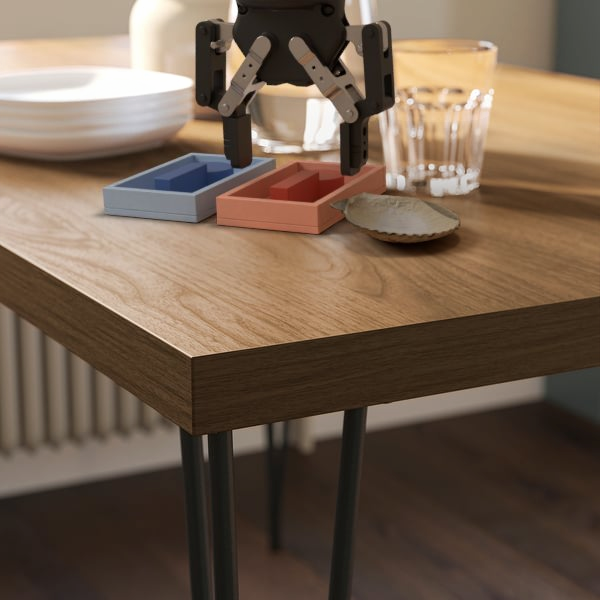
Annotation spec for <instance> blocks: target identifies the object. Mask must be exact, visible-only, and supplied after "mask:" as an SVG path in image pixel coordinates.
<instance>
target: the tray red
mask: <svg viewBox="0 0 600 600" xmlns="http://www.w3.org/2000/svg"><path fill="white" fill-rule="evenodd" d="M317 169H326V170H335V171H340V162H334V161H323V160H322V161H320V160H304V159H293V160H291V161H288V162H287V163H283V164H282V165H280V166H278V167H276V169H274V170H272V171H270V172H268V173H265V174H263V175H261V176H259V177H257V178H255V179H253V180H251V181H249V182H247V183H245V184H242V185H240V186H238V187H236V188H234V189H232V190H230V191H228V192H226V193H224V194H222V195H220V196H218V197H216V205H217V213H216V224H217V225H218V226H227V227H237V228H248V229H259V230H268V231H269V230H270V231H279V232H291V233H301V234H311V235H312V234H314V235H319V234H321V233H322V232H324V231H326V230H327V229H329V228H330V227H332V226H333V225H335V224H337V223H338V222H340V221H341V220H343V219H344V218H346V217H345V215H344V214H343V213H342V212H341V210H337V209H333V208H332V207H330V203H333V202H336V201H338V200H341V199H345V198H348V199H349V197H351V196H353V195H355V194H358V193H362V192H365V193H367V194H376V195H383V194H384V193H385V192H386V191H387V166H386V165H379V164H367V163H366V164H365V165H364V166H362V167H361V169H360V172H359V173H357V174H355V175H354V176H344V178H345V185H344V186H342V187H341V188H339V189H337V190H335V191H334V192H332V193H330V194H328V195H327V196H325V197H323V198H321V199H317V200H315V201H314V202H312V203H308V202H295V201H283V200H271V199H270V187H271V186H273V185H275V184H277V183H279V182H281V181H283V180H285V179H287V178H288V177H290V176H292V175H294V174H296V173H298V172H300V171H302V170H303V171H306V170H317ZM340 172H341V171H340Z"/></svg>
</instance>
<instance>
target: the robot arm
mask: <svg viewBox="0 0 600 600" xmlns="http://www.w3.org/2000/svg"><path fill="white" fill-rule="evenodd" d="M235 3H236V7H237V14H236V18H235V21H234V22H230V21H229V22H228V21H224V19H222V18H210V19H206V20H203V21H198V23H197V24H196V25H195V32H194V34H195V38H194V39H195V40H194V41H195V42H194V47H195V48H194V49H195V53H194V54H195V55H194V56H195V57H194V61H195V63H194V64H195V65H194V66H195V67H194V71H195V73H194V74H195V75H194V77H195V78H194V79H195V81H194V82H195V83H194V84H195V86H194V88H195V89H194V91H195V92H194V95H195V97H194V99H195V102H196V105H198V106H199V107H202V108H205V107H208V108H210V109H212V110H214V111H216V112H217V113H219V114H220V117H221V119H222V138H223V139H222V141H223V155H225V157H226V159H227V160H230V163H231V167H232V168H236V169H243V168H245V167H247V166H250V165H251V163H252V159H253V157H254V156H253V135H252V114H251V113H247V109H248V107H249V106H250V104H251V103H252V101H254V99H255V97H256V95H257V94H258V93H259V91H260V90H261V89H262V88H263V87H264V86H265V85H266V86H272V87H273V86H276V87H277V86H280V85H281V86H282V85H284V84H288V85H292V86H294V87H299V88H300V87H301V88H308V87H311V86H314V85H315V87H317V89H318V90H319V92H320V93H321V95H322V96H323V97H324V98H325V99H328V100H329V101H330V102H331V103H332V105H333V107H334V108H335V110H336V111H337V112H338V114H339V116H340V117H341V118H342V120H343V122H340V123H339V151H340V152H339V163H340V171H341V175H342V176H354V175H355V174H357V173H359V172H360V169H361V167H362V166H364V165H365V164H367V162H368V159H369V121H370V119H371V117H373V116H375V115H376V116H377V115H379V114H381V113H383V112H386V111H388V110H391V109H392V108H393V107H394V106H395V104H396V93H395V92H396V91H395V75H394V72H395V71H394V55H393V54H394V53H393V38H392V26H391V24H390V23H389V22H388V21H386V20H384V19H383V20H382V19H381V20H377V21H375V22H371V23H366V24H350V22H349V20H348V17H347V15H346V8H345V7H346V0H235ZM233 41H234V44H235V45H237V47H238V50H239V51H240V52H241V53H242V55H243V56H244V59H243V61H242V63H241V64H240V66H239V67H238V68H237V70H236V72H235V74H234V75H233V77H232V78H231V80H230V83H229V84H230V85H229V87H228V89H227V52H228V51H229V50H230V49H231V48H232V44H233V43H232V42H233ZM350 43H352V44H353V45H354V49H355V52H356V54H357V55H358V56H359V57H362V63H363V65H362V66H363V78H364V93H365V94H363V93H362V91H361V90H360V89H359V87H358V86H357V84H356V79H355V76H354V75H353V74H352V71H350V69H349V67H348V66H347V65H346V63H345V62H344V60H343V59H342V58H341V56H342V55H343V54H344V52H345V50H346V49H347V47H348V46H349V45H350Z"/></svg>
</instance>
